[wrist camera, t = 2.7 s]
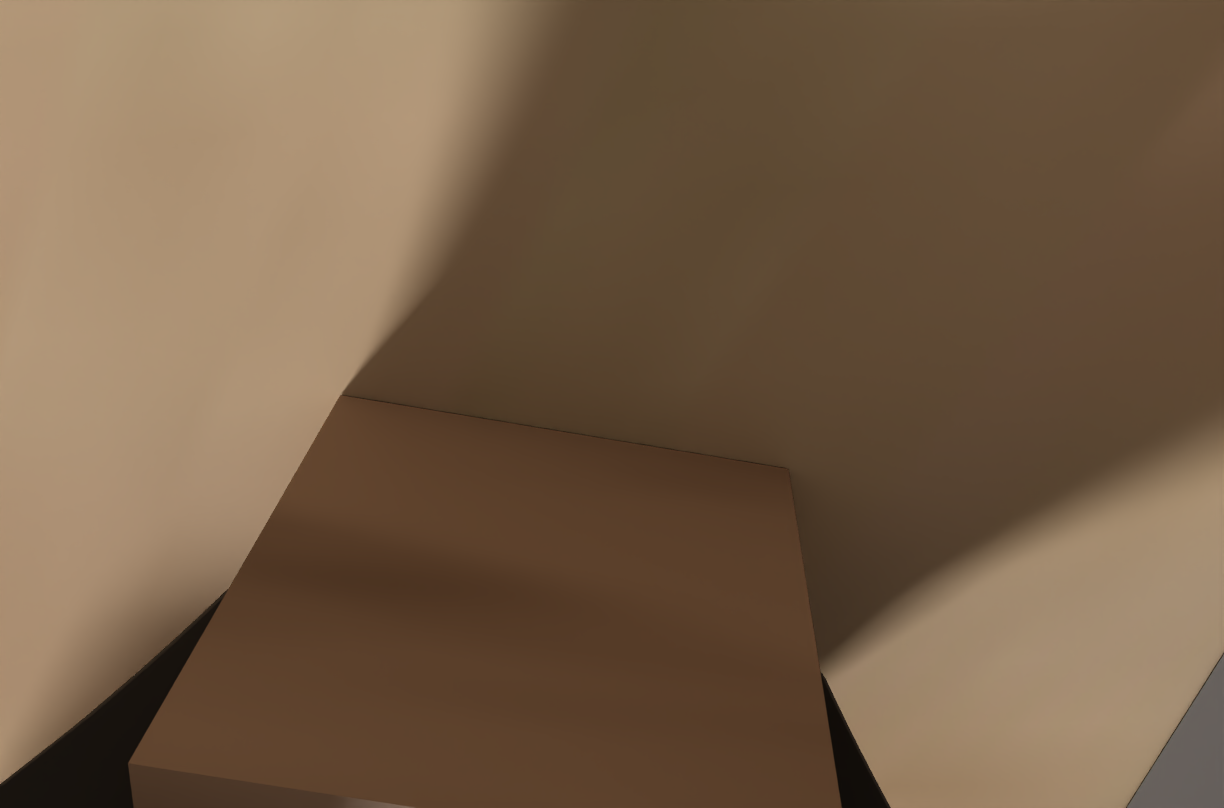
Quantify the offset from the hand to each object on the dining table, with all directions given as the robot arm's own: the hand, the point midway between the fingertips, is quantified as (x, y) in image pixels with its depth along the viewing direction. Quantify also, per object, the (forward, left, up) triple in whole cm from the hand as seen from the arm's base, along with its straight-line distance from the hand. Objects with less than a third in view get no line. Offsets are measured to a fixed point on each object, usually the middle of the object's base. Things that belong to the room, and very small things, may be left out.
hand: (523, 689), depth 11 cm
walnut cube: (0, 0, -1) cm, 1 cm away
